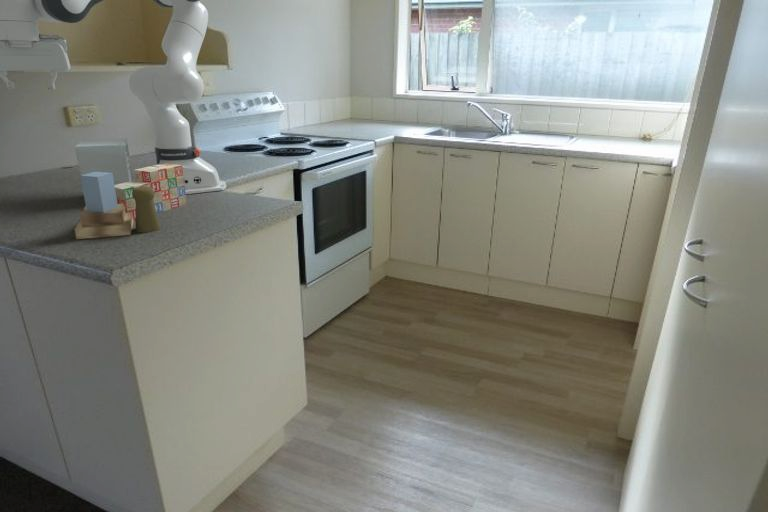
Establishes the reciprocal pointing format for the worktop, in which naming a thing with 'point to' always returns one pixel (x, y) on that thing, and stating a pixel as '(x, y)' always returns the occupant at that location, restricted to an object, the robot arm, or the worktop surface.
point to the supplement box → (105, 158)
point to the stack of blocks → (155, 187)
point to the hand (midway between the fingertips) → (31, 89)
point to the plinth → (105, 229)
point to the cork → (145, 210)
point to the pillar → (99, 191)
